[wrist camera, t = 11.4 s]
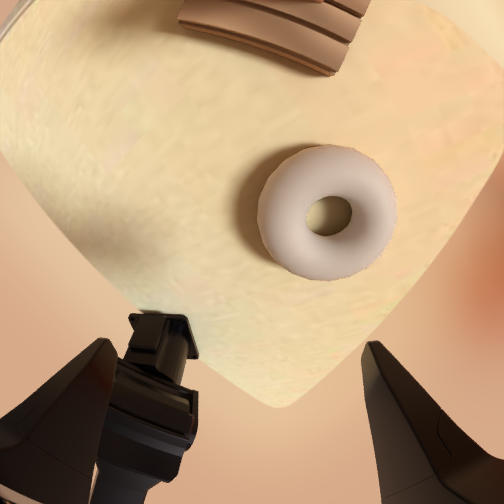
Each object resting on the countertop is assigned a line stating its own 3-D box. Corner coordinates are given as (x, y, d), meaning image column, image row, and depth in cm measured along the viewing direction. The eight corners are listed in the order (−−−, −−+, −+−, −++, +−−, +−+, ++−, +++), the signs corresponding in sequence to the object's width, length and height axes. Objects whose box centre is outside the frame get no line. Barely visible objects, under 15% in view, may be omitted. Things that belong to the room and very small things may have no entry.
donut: (233, 226, 21) (335, 283, 23) (226, 249, 18) (342, 310, 20) (307, 112, 17) (410, 192, 19) (314, 115, 14) (431, 210, 16)
